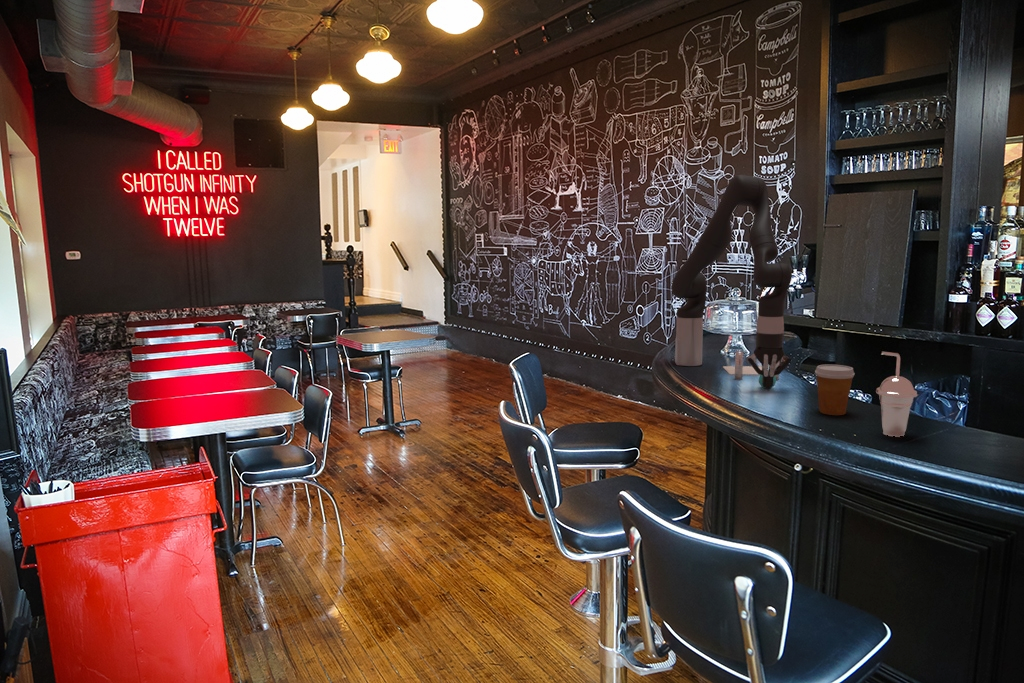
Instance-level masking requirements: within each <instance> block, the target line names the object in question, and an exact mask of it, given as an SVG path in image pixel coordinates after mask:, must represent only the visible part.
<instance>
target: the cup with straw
mask: <svg viewBox="0 0 1024 683" xmlns="http://www.w3.org/2000/svg"><path fill="white" fill-rule="evenodd" d="M879 354H880V355H885V356H889V357H890V356H891V357H893V356H894V357H896V367H895V375H891V376H888V377H886V378H885V379H884V380H883V381H882V382H881V384H880V386H879V387H877V388H876V390H875V392H876V394H877V395H878V396H879V403H880V408H881V409H880V410H881V412H880V413H881V425H882V426H881V427H882V430H883V432H882V434H883V435H885V436H887V435H888V437H893V436H895V438H901V437H900V436H903V437H905V436H906V435H905V432H906V430H907V427H908V421H909V417H910V416H909V415H910V412H911V411H910V410H911V407H912V405H913V402H914V398H916V397H918V391H917V390H916V389H914V386H913V383H912V382H911V381H910V380H909V379H907V378H905V377H904V376H900V371H901V370H900V369H901V356H900V354H899V353H898V352H889V351H881V350H880V351H879ZM904 435H905V436H904Z"/></svg>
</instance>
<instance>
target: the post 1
mask: <svg viewBox="0 0 1024 683" xmlns="http://www.w3.org/2000/svg"><path fill="white" fill-rule="evenodd" d="M734 353H735V357H734V358H735V359H734V366H735V375H734V380H736V381H740V380H741V381H742V380H743V375H742V374H743V366H744V351H740V350H735V352H734Z"/></svg>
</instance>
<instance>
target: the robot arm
mask: <svg viewBox="0 0 1024 683" xmlns="http://www.w3.org/2000/svg"><path fill="white" fill-rule="evenodd" d="M769 198H770V197H769V190H768V185H767V183H766V181H765V180H764V179H763V178H761V177H759V176H754V175H752V176H751V175H745V174H736V175H734V176H733V177H732V178H731V179H730V181H729V182H728V184H727V186H726V188H725V189H724V192H723V195H722V196H721V199H720V201H719V203H718V204H717V205H718V206H717V207H716V210H715V211H714V213H713V215H712V217H711V219H710V221H709V222H708V223H707V225H706V227H705V229H704V230H703V232H702V234H701V235H700V237H699V239H698V241H697V243H696V244H695V246H694V248H693V250H692V251H691V253H690V254H689V256H688V258H687V260H686V261H685V262H684V264H683V265H682V266H681V267H680V269H679V270H678V271H677V272H676V274H675V276H674V278H673V280H672V282H671V292H672V294H673V296H674V297H676V298H678V299H687V301H686V302H685V304H683V305H682V306H680V307H678V308H677V310H676V332H675V333H676V334H675V335H676V336H675V341H674V342H675V345H674V346H675V347H674V348H675V349H674V350H675V351H674V363H675V364H676V366H682V367H683V366H685V367H697V366H702V364H703V339H704V338H703V337H704V336H703V334H704V332H703V330H704V312H705V310H706V300H707V290H708V289H707V286H708V284H707V279H706V277H705V275H704V274H703V273H702V271H703V270H704V269H707V268H708V267H709V266H711V265H712V264H713V263H714V262H715V261H717V260H718V259H719V258H720V257H722V255H723V254H724V252H725V251H726V249H727V248H728V247H729V245H730V243H731V241H732V239H733V238H732V237H733V231H732V224H731V218H732V214H733V213H734V211H735V210H736V208H737V207H738V206H743V207H750V208H752V210H753V213H754V220H753V223H752V224H751V228H750V230H749V233H748V234H749V236H748V238H749V244H750V247H751V251H752V255H753V271H752V272H753V274H752V278H753V282H754V284H755V285H756V286H758V287H759V288H773V290H772V292H771V293H769V294H766V295H762V296H760V297H759V298H758V306H757V307H758V308H757V311H758V312H757V320H756V333H755V334H756V337H755V349H754V351H753V354H752V355H750V356H747V357H746V360H747V363H749V365H750V366H752V367H753V368H754V370H755V371H756V372H757V373H758V374H759V375H758V376H760V375H762V376H763V377H762V385H763V386H764V388H763V389H765V390H769V389H772V388H773V387H774V386H773V377H774V376H775V375H779V376H780V374H781V373H782V372H783V371H784V370H785V369H786V368H787V367H788V366H789V365H790V363H791V362H792V359H791V358H790V357H788V356H787V355H786V354H785V351H784V349H783V348H784V332H785V324H784V323H785V322H784V321H785V320H784V311H785V310H784V309H785V307H784V306H785V300H786V297H787V294H788V291H789V287H790V284H791V281H792V277H793V273H792V272H793V271H792V268H791V267H790V265H788V264H787V263H783V262H780V263H779V262H774V263H773V261H774V260H775V259H777V257H778V256H779V249H778V248H779V247H778V245H777V244H778V243H777V241H776V239H775V235H774V231H773V226H772V221H771V209H770V208H771V206H770V201H769V200H770V199H769ZM769 262H771V263H769ZM756 359H757V360H758V362H759V363H760V364H761V366H762V370H760V369H759V367H758V366H759V365H757V364H756V362H757V360H756ZM779 361H780V362H779ZM778 362H779V366H778V367H777V368H776V369H775V366H776V364H777V363H778ZM772 386H773V387H772ZM771 387H772V388H771Z"/></svg>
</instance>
